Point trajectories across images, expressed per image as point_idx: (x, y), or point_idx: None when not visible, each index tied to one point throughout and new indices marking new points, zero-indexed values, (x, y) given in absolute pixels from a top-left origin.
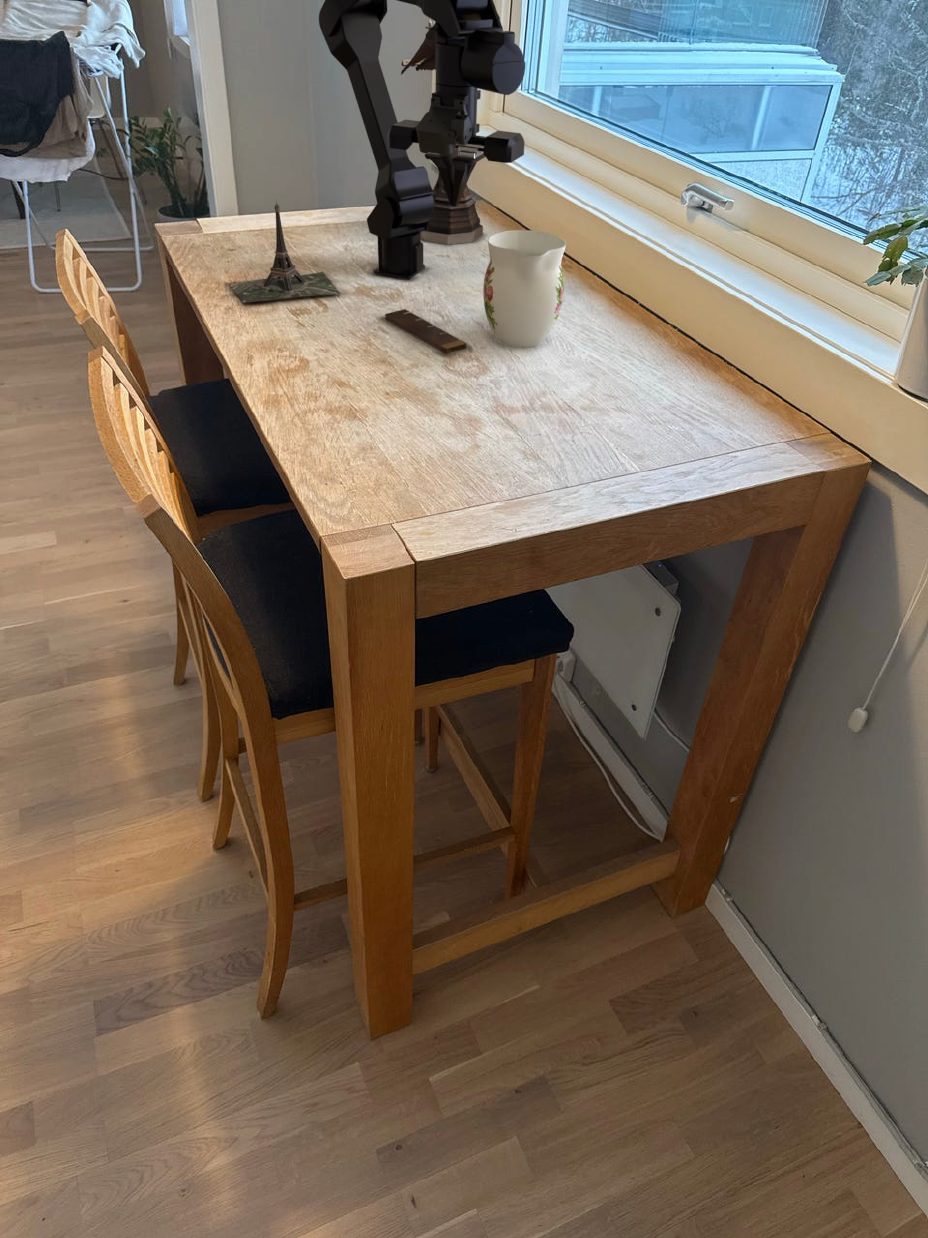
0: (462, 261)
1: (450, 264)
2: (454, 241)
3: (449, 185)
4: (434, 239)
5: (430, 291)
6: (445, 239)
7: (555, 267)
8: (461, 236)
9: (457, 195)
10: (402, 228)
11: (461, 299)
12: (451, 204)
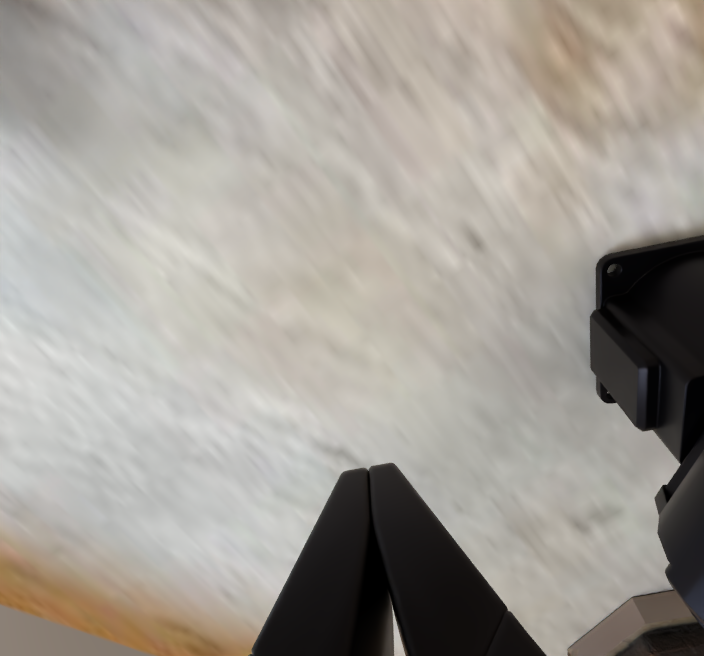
0: (512, 519)
1: (534, 477)
2: (617, 618)
3: (408, 602)
4: None
5: (451, 211)
6: (647, 609)
7: None
8: (605, 644)
9: (306, 543)
10: None
11: (289, 218)
12: (381, 470)
